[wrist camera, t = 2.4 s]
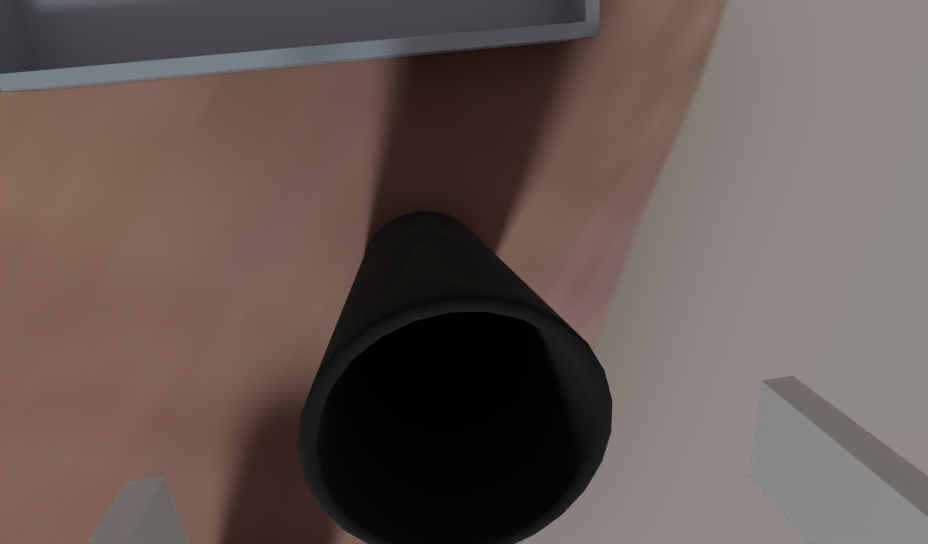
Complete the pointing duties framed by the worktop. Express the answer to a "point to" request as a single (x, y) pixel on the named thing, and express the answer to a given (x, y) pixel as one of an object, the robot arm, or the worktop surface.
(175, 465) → the worktop surface
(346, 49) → the tray
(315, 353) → the worktop surface
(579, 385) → the cup
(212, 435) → the worktop surface
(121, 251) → the worktop surface
